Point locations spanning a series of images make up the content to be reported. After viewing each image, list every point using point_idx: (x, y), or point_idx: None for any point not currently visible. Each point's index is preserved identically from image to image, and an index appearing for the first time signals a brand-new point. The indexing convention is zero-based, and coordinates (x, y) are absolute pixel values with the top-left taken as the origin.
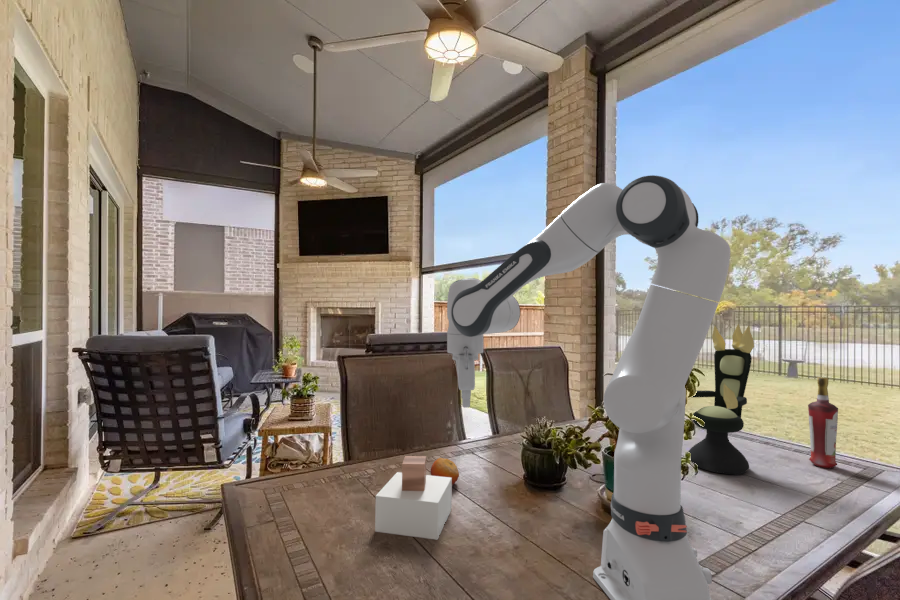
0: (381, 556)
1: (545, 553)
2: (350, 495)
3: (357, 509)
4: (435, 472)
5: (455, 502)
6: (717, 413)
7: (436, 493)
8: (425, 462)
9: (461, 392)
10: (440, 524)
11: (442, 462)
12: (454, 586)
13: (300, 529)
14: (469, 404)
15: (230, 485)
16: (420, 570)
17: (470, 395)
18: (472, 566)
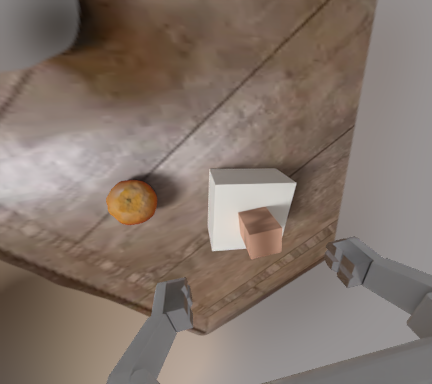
0: (301, 204)
1: (303, 29)
2: (201, 266)
3: (227, 250)
4: (154, 212)
5: (188, 168)
6: None
7: (270, 191)
8: (261, 229)
9: (178, 327)
10: (268, 171)
11: (139, 212)
12: (346, 137)
13: (265, 267)
14: (362, 243)
15: (206, 334)
16: (322, 170)
17: (429, 274)
18: (320, 125)
